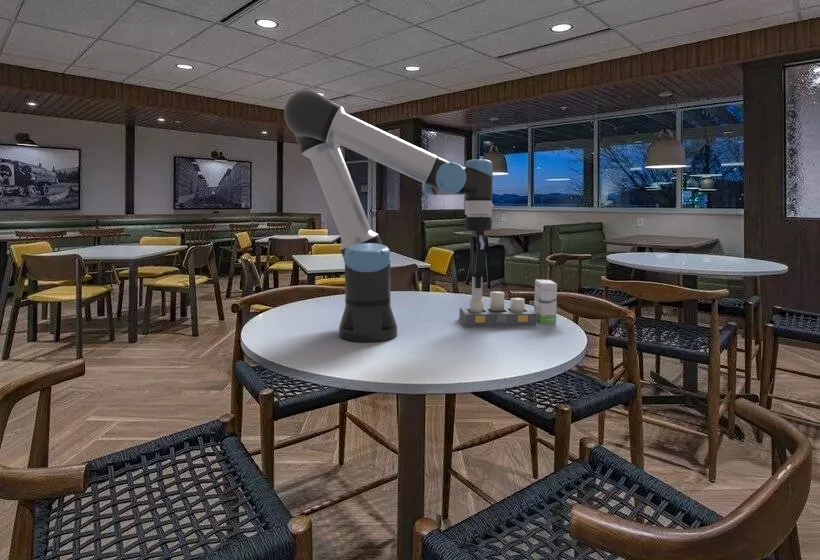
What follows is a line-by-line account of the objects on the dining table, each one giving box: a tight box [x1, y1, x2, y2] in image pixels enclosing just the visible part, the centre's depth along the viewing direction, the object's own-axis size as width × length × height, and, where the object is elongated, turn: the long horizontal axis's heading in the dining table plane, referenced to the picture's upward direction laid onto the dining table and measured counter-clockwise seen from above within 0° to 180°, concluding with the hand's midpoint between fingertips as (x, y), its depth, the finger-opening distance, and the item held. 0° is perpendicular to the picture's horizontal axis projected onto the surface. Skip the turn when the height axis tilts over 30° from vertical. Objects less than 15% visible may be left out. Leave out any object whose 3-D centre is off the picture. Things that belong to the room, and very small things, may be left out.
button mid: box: [489, 291, 505, 311], centre depth 150 cm, size 4×4×5 cm
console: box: [458, 305, 537, 328], centre depth 150 cm, size 20×11×4 cm, turn 94°
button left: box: [469, 298, 485, 312], centre depth 150 cm, size 4×4×5 cm
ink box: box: [533, 279, 558, 325], centre depth 152 cm, size 9×5×12 cm, turn 178°
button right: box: [510, 297, 526, 312], centre depth 150 cm, size 4×4×5 cm
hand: (476, 298), depth 149 cm, fingers closed
